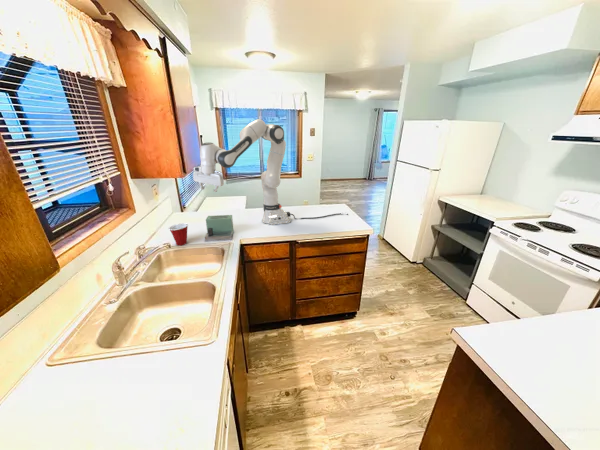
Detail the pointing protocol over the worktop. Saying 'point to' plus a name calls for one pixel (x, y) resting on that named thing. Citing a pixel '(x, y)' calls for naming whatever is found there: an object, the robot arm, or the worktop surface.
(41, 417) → the worktop surface
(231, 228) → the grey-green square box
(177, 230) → the plastic cup
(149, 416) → the worktop surface
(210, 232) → the slider
